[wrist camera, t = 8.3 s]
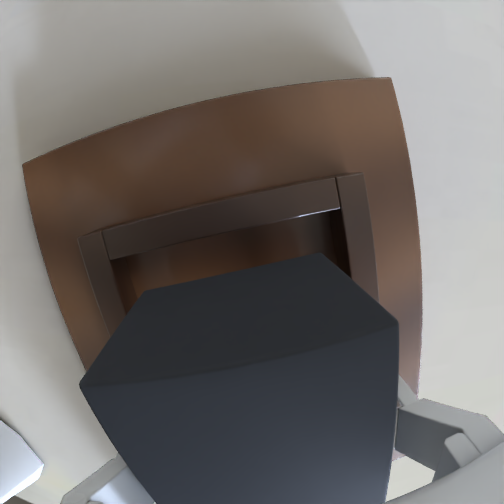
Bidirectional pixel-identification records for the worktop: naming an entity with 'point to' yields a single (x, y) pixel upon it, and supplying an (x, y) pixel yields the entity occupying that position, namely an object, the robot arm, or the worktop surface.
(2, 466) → the flask
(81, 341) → the back plate
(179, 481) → the dark gray block
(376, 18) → the worktop surface
